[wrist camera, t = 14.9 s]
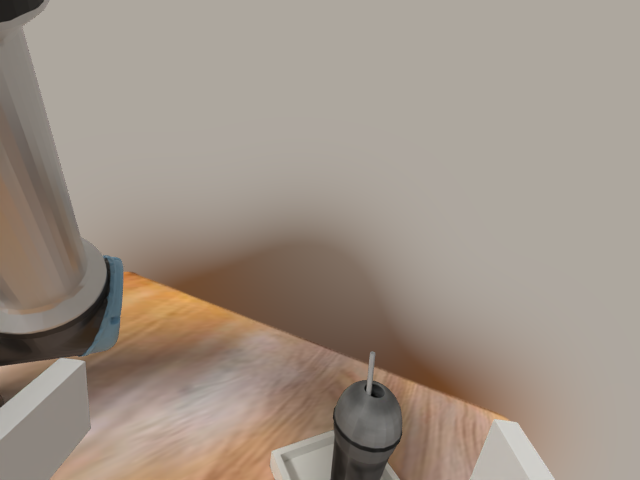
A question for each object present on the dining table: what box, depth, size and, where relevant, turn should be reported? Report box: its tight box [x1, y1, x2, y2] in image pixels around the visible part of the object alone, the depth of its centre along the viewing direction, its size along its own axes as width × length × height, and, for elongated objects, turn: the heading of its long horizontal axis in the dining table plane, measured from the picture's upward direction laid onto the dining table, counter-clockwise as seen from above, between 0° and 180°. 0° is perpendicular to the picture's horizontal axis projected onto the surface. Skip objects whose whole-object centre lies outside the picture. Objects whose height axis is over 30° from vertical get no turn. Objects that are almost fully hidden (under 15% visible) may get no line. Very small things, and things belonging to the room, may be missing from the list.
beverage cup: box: [330, 352, 402, 480], centre depth 35 cm, size 7×7×20 cm
